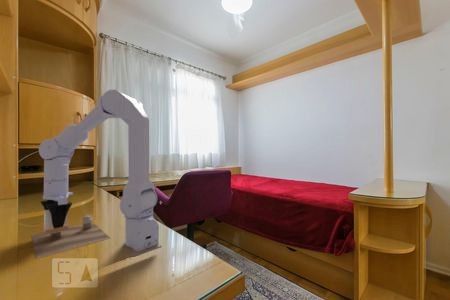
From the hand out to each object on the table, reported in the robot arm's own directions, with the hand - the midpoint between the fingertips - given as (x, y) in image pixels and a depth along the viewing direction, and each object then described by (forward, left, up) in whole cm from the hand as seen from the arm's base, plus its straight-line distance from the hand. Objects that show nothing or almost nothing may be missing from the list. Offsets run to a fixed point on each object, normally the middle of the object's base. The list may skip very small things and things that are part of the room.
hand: (55, 225), depth 60 cm
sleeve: (0, 0, -2) cm, 2 cm away
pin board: (-4, -3, -4) cm, 7 cm away
